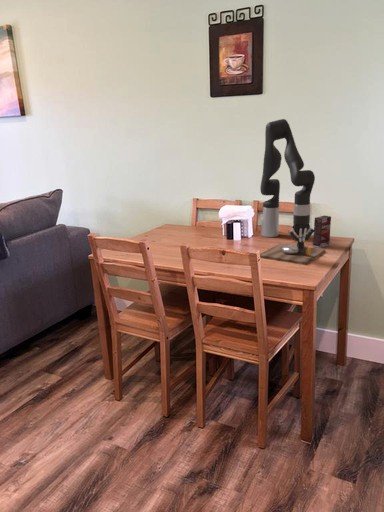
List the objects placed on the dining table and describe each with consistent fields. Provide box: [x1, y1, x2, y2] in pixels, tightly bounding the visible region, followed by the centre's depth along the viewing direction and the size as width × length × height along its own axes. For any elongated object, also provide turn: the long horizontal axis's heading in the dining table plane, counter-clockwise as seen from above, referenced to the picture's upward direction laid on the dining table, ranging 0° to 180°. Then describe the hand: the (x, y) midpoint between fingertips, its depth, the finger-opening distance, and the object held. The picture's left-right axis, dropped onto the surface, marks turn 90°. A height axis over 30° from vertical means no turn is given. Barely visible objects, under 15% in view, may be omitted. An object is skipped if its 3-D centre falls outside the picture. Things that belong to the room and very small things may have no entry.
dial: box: [282, 244, 312, 255], centre depth 212 cm, size 16×10×4 cm, turn 38°
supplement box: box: [312, 214, 332, 249], centre depth 225 cm, size 9×5×16 cm, turn 128°
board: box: [259, 243, 326, 266], centre depth 215 cm, size 25×25×2 cm
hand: (300, 248), depth 205 cm, fingers closed
